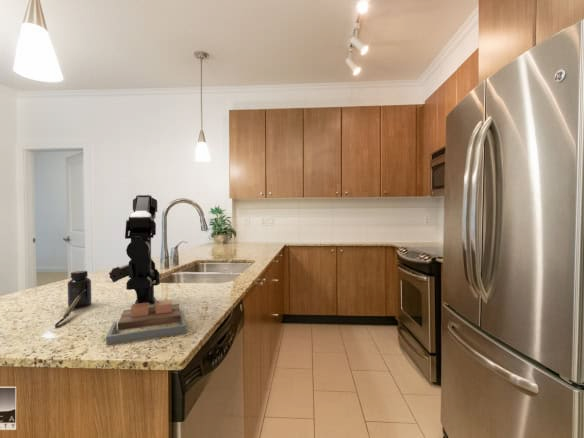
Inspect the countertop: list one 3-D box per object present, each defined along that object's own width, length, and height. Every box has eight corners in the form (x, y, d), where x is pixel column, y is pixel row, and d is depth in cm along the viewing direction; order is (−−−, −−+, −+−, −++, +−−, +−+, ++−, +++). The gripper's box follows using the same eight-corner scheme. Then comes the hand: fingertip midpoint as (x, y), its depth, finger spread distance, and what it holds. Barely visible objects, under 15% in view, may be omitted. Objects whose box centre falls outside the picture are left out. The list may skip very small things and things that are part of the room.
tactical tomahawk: (72, 303, 101) (69, 301, 101) (88, 290, 102) (85, 288, 101) (43, 340, 82) (40, 338, 81) (63, 324, 82) (59, 322, 82)
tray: (113, 333, 79) (113, 322, 79) (184, 323, 86) (183, 313, 86) (106, 349, 70) (106, 336, 70) (186, 336, 77) (185, 325, 77)
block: (156, 309, 92) (156, 301, 92) (171, 307, 93) (171, 299, 93) (155, 314, 87) (155, 305, 87) (171, 312, 89) (171, 303, 89)
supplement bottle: (96, 302, 107) (95, 270, 107) (81, 308, 100) (80, 274, 100) (78, 302, 108) (78, 269, 108) (62, 308, 101) (62, 273, 101)
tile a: (132, 312, 89) (132, 304, 89) (149, 310, 91) (149, 302, 91) (130, 317, 85) (130, 308, 85) (148, 314, 87) (148, 306, 87)
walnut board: (123, 318, 91) (123, 310, 91) (179, 311, 97) (178, 303, 97) (117, 332, 80) (117, 323, 80) (180, 323, 86) (180, 315, 86)
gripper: (116, 253, 98) (116, 300, 98) (105, 262, 80) (106, 318, 81) (153, 252, 102) (153, 296, 102) (150, 259, 85) (150, 313, 85)
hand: (141, 305), depth 92 cm, fingers closed
